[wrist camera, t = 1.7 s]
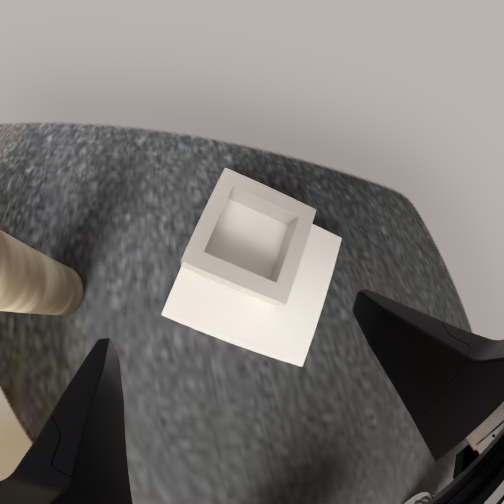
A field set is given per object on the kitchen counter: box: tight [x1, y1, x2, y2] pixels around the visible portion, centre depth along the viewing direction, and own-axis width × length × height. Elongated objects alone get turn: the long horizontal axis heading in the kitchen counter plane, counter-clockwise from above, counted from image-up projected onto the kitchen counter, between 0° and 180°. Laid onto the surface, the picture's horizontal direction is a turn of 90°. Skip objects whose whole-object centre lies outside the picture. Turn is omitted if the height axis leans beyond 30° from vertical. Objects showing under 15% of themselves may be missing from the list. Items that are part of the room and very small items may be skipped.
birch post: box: [0, 230, 84, 315], centre depth 13 cm, size 4×4×14 cm
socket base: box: [161, 168, 342, 367], centre depth 22 cm, size 12×12×4 cm
